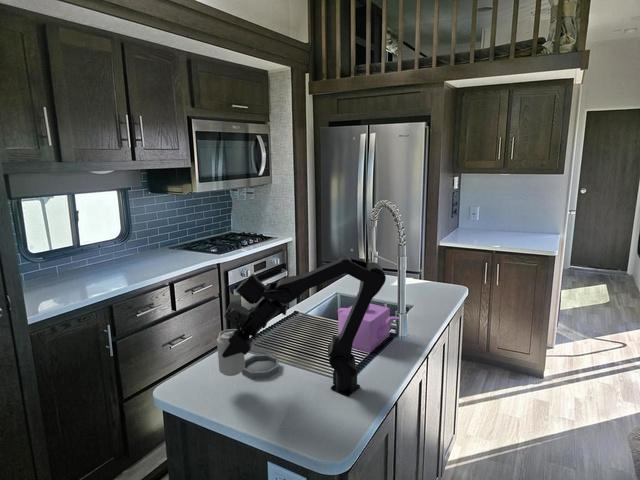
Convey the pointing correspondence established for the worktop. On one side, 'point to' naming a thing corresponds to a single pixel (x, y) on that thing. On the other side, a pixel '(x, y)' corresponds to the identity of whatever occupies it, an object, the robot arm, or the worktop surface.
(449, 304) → the worktop surface
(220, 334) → the can
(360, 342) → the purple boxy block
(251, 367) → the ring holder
